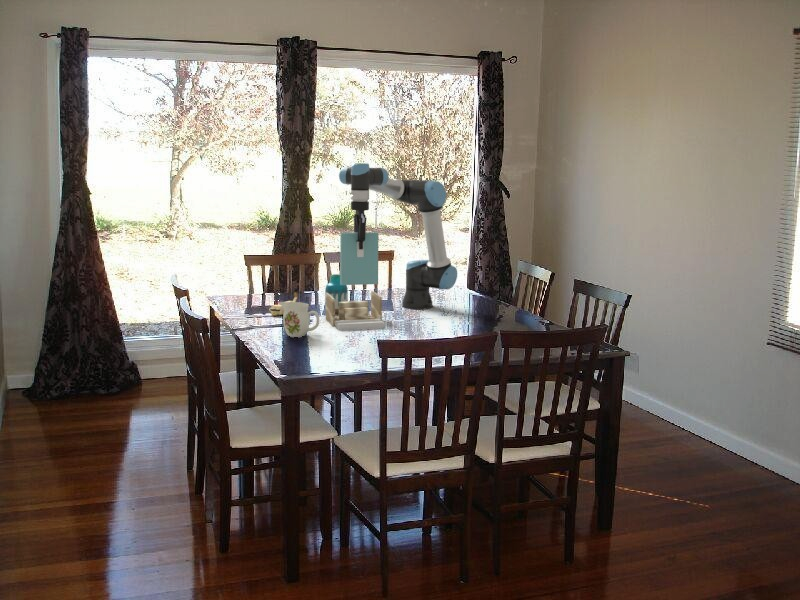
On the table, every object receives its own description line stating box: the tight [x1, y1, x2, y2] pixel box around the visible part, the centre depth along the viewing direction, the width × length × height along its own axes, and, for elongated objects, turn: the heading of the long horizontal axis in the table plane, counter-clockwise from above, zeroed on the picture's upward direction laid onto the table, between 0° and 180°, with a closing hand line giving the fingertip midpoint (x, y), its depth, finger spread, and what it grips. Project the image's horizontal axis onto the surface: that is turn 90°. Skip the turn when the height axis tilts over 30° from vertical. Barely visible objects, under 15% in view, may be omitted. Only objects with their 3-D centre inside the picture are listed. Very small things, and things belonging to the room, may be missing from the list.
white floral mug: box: [277, 301, 321, 338], centre depth 331 cm, size 11×18×14 cm, turn 77°
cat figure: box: [268, 292, 302, 316], centre depth 381 cm, size 10×9×25 cm
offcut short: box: [344, 307, 368, 320], centre depth 350 cm, size 10×2×7 cm, turn 107°
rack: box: [325, 290, 383, 327], centre depth 354 cm, size 22×15×14 cm
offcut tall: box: [338, 300, 370, 320], centre depth 353 cm, size 13×2×9 cm, turn 107°
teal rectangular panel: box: [339, 231, 380, 286], centre depth 338 cm, size 16×2×22 cm, turn 107°
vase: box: [324, 273, 349, 315], centre depth 372 cm, size 11×11×19 cm
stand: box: [334, 319, 385, 331], centre depth 344 cm, size 20×8×4 cm, turn 107°
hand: (359, 256), depth 338 cm, fingers closed on teal rectangular panel, 2 cm apart
